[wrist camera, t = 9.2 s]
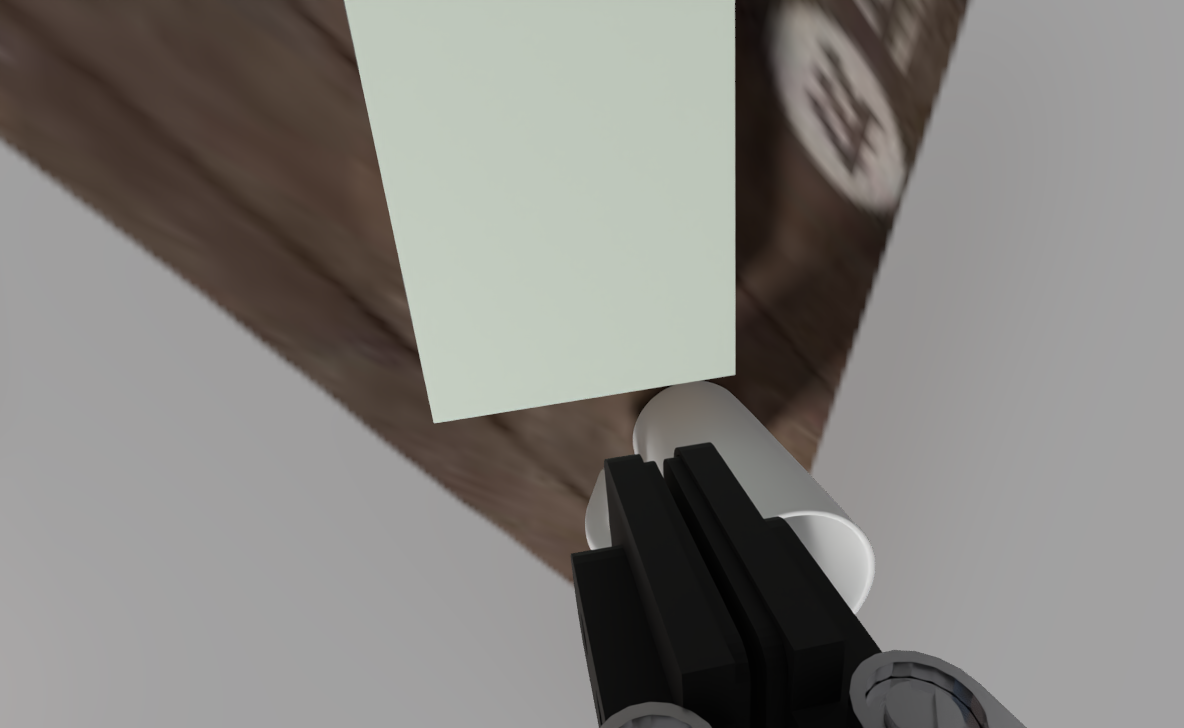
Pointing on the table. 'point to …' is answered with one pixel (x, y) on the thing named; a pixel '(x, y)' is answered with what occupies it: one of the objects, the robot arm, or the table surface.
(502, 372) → the lid
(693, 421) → the mug
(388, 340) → the table surface
